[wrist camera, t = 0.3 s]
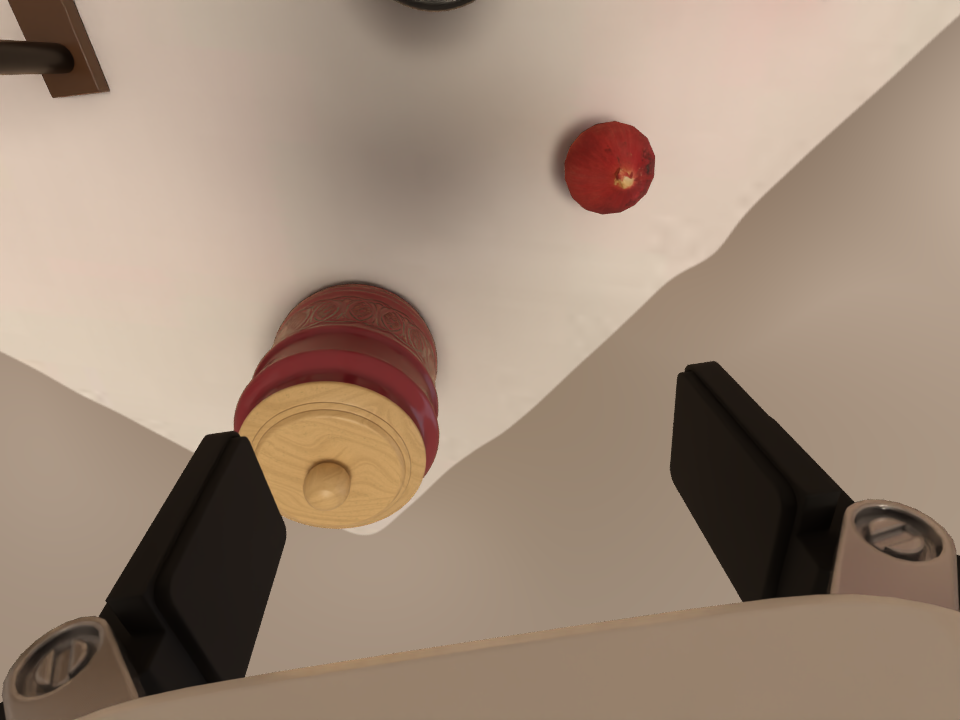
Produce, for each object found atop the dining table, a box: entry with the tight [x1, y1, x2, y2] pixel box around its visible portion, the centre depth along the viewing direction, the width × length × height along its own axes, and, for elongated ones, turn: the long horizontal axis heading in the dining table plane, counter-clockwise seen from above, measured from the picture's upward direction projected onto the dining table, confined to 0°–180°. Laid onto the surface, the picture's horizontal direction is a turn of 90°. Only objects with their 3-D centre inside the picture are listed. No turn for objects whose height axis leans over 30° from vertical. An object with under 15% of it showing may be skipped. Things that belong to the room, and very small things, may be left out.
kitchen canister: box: [234, 284, 439, 529], centre depth 37 cm, size 13×13×18 cm
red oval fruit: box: [564, 121, 655, 214], centre depth 35 cm, size 6×6×8 cm
